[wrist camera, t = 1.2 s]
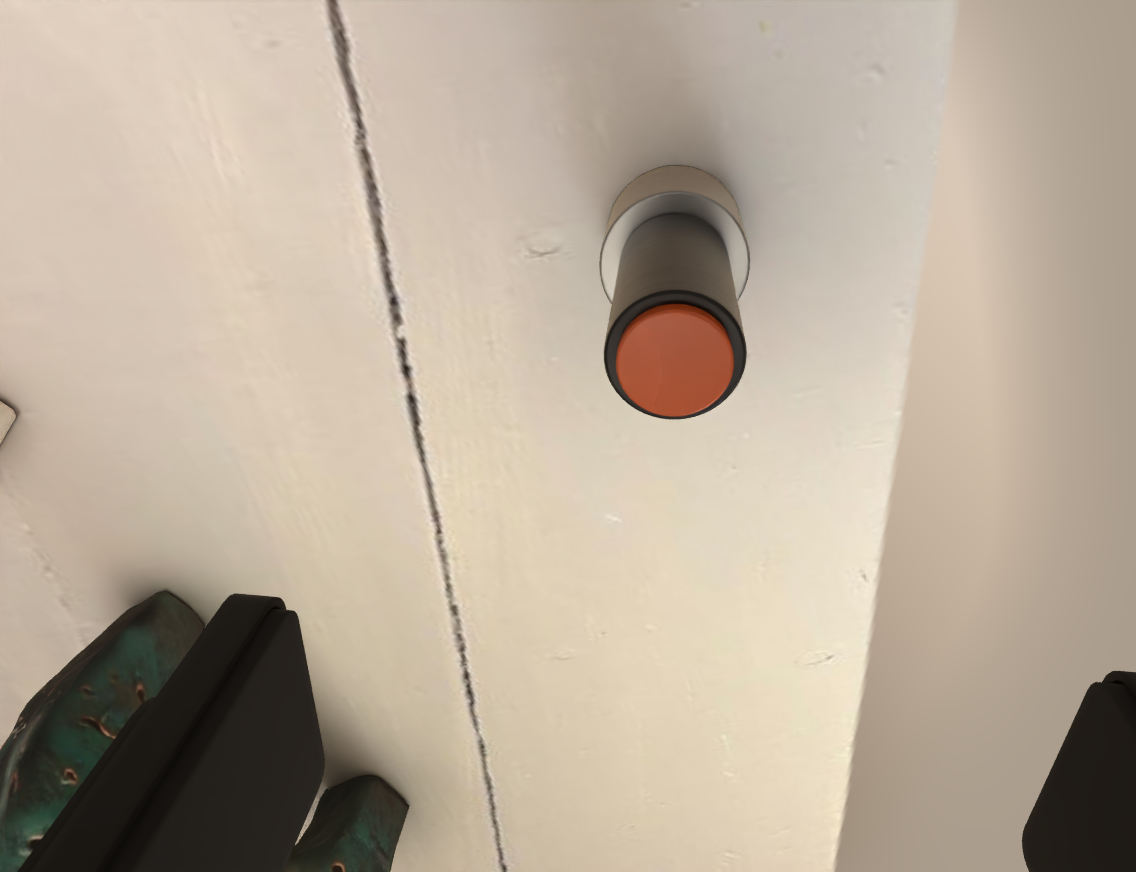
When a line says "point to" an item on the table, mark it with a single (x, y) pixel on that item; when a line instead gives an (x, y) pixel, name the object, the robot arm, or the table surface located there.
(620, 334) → the torch
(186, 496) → the table surface
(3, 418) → the medicine bottle
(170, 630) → the ceramic cat
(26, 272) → the table surface
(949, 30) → the table surface
